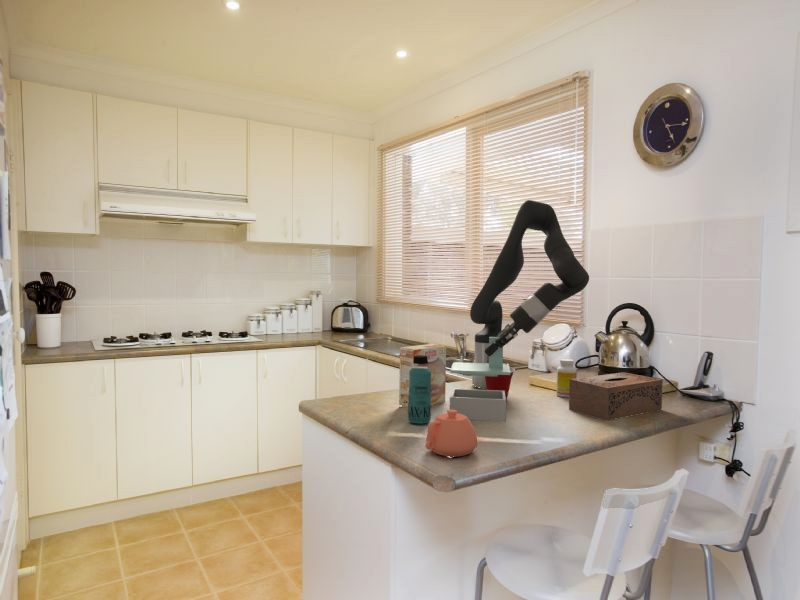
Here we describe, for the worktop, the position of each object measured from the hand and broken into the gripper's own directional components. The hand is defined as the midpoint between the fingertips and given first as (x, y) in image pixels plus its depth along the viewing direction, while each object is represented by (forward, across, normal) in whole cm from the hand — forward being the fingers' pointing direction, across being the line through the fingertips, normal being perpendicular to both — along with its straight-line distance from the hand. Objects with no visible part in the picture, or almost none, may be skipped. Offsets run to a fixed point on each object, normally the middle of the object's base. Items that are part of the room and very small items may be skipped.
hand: (486, 353), depth 157 cm
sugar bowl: (+20, +33, +8) cm, 39 cm away
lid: (+5, 0, +2) cm, 5 cm away
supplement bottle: (-6, -33, +34) cm, 48 cm away
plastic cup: (+11, -19, +17) cm, 28 cm away
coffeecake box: (+28, -10, 0) cm, 30 cm away
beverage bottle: (+27, +12, +1) cm, 29 cm away
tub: (+15, 0, +12) cm, 19 cm away
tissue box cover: (-15, -17, +43) cm, 48 cm away
